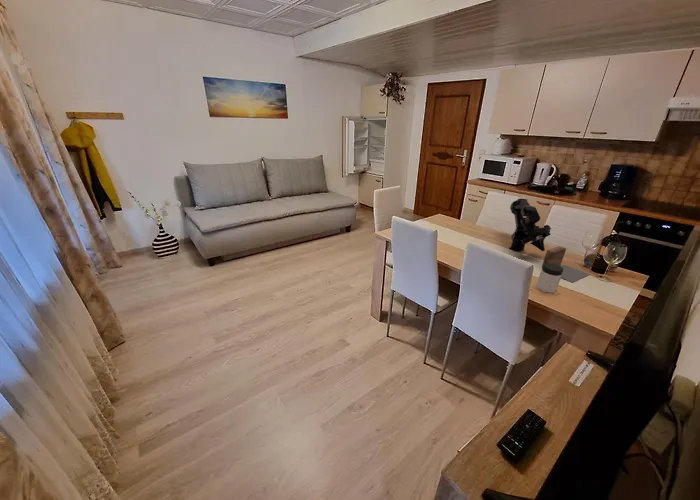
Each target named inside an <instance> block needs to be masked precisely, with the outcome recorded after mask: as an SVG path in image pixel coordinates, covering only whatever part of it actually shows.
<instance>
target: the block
mask: <svg viewBox="0 0 700 500" xmlns="http://www.w3.org/2000/svg"><path fill="white" fill-rule="evenodd" d="M566 250H567V248H566V247H563V246H561V245H557V246H554V247H552V248H549V249H546V252H545V256H544V258H543V262H542V264H541V269H542V268H543V265H544V264H546V263H551V264H556V265H558V266H562V262H563V259H564V256H565V253H566Z"/></svg>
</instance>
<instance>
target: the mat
mask: <svg viewBox="0 0 700 500" xmlns="http://www.w3.org/2000/svg"><path fill="white" fill-rule="evenodd" d="M560 267H562V268H563V273H562V276H561V279H562V280H565V281H567V282H569V283H572V284H573V283H576V282H577V281H579V280H581V279H582V280H583V279H585V278H586V277H588V276H591V274H590V273H587V272H584V271H583V270H579V269H578V268H574V267H572V266H568V265H567V264H561V265H560Z"/></svg>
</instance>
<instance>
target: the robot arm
mask: <svg viewBox="0 0 700 500" xmlns="http://www.w3.org/2000/svg"><path fill="white" fill-rule="evenodd" d="M509 210H510V212H511V214H513V215H514V221H515V231H514V232H513V233H512V234H511V237H510V239H511V241H512V242H511V244H510V245H511V246H510V247H509V250H512V251H514V252H516V253H521V252H523V251H525V246H526V244H527V245H528V243H530V244H531V245H532V246H534V247H535V248H537V249H538V250H540V251H541V252H545V251H546V249H545V243H544V241H545V239H546V238H548V237H550V236H552V234H551V230H552V228H551V226H550V225H549V224H545V225H543V226H542V227H540V226H539V225H536V224H537V223H538V222H540V220H541V216H540V213H539V212H538V209H537V207H536V206H532V205H530V203H529V202H528V199H527V198H517V200H514V201H513V202H511V204H510V206H509Z"/></svg>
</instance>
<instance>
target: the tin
mask: <svg viewBox="0 0 700 500" xmlns="http://www.w3.org/2000/svg"><path fill="white" fill-rule="evenodd" d="M597 254H598V253H590V254H587V255H585V257H584V259H583V263H584V265H585V267H587V268H588V267H592V265H593V262H594V260H595V258H596V256H597ZM619 265H620V264H619V262H618V264H617V265H611V266H610V268H609V271H608V272H612V271H615V270H616V269H618V267H619Z"/></svg>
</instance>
